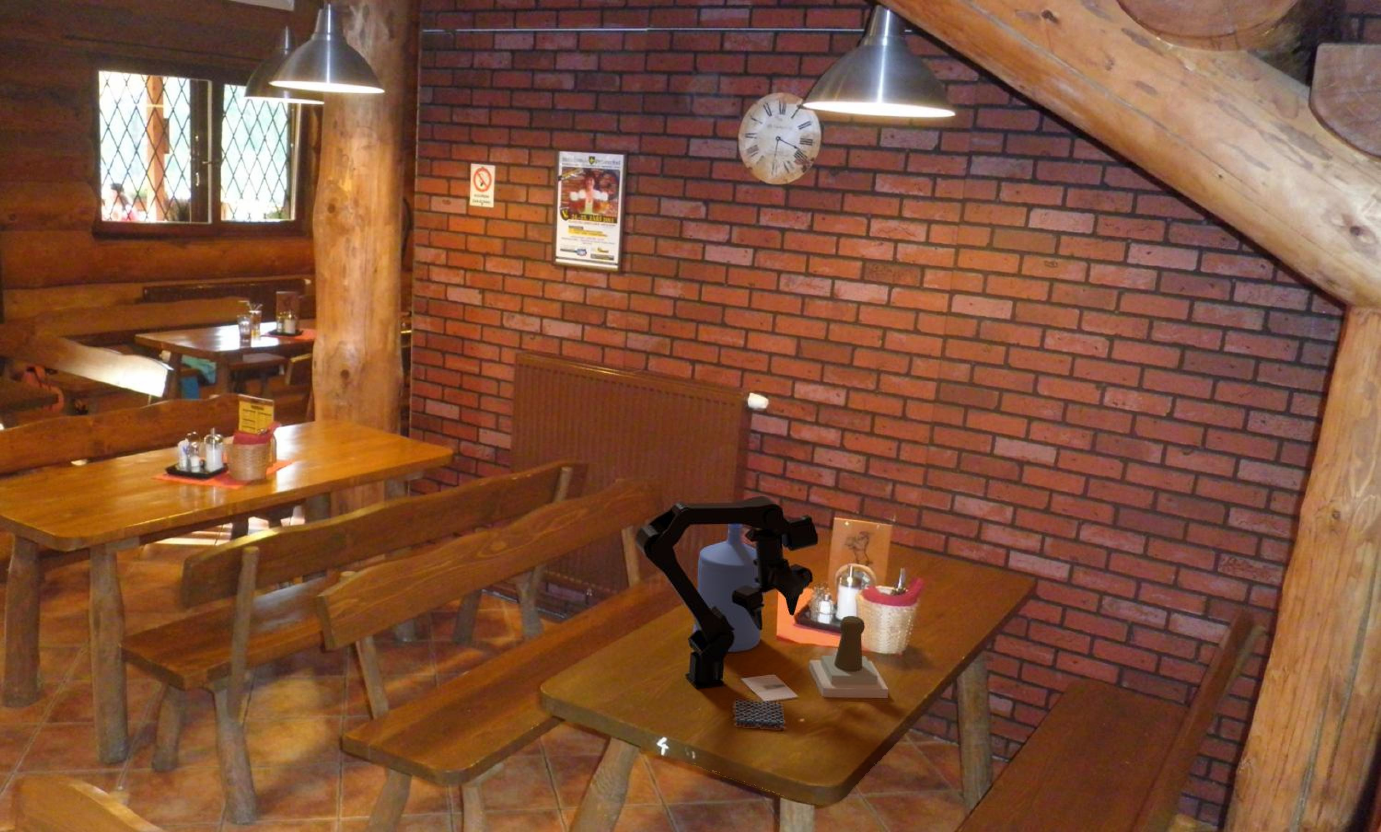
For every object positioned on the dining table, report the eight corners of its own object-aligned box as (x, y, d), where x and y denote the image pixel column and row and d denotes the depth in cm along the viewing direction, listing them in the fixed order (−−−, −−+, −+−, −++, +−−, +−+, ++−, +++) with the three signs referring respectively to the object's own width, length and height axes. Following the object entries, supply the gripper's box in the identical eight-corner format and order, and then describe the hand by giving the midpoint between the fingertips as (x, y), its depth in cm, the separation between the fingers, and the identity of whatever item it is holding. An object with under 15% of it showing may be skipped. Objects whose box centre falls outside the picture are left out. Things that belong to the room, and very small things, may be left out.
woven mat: (782, 708, 242) (783, 699, 242) (786, 733, 232) (787, 724, 231) (731, 705, 242) (732, 696, 242) (733, 730, 232) (734, 720, 231)
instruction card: (762, 702, 243) (763, 700, 243) (740, 679, 253) (740, 678, 253) (798, 697, 246) (798, 696, 246) (774, 675, 256) (774, 673, 256)
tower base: (822, 696, 247) (824, 679, 247) (809, 668, 261) (810, 651, 260) (887, 697, 249) (889, 680, 248) (870, 669, 263) (872, 652, 262)
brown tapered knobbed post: (867, 669, 253) (872, 621, 250) (843, 673, 250) (848, 624, 248) (852, 658, 258) (857, 611, 256) (829, 661, 256) (833, 614, 253)
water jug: (772, 648, 270) (782, 532, 264) (711, 657, 263) (720, 538, 257) (740, 623, 284) (749, 512, 278) (681, 630, 277) (689, 517, 271)
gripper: (761, 579, 238) (768, 649, 242) (828, 550, 248) (833, 618, 253) (726, 565, 247) (733, 633, 251) (792, 538, 257) (798, 603, 261)
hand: (776, 622), depth 254 cm, fingers open, 9 cm apart
